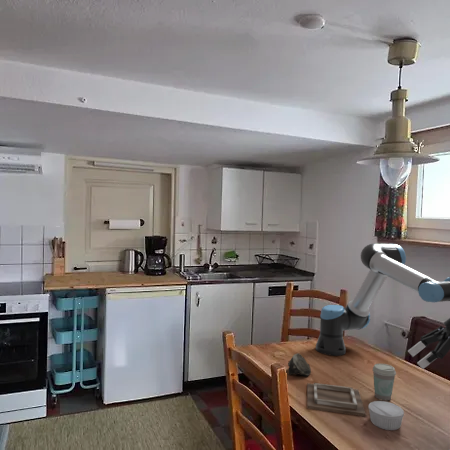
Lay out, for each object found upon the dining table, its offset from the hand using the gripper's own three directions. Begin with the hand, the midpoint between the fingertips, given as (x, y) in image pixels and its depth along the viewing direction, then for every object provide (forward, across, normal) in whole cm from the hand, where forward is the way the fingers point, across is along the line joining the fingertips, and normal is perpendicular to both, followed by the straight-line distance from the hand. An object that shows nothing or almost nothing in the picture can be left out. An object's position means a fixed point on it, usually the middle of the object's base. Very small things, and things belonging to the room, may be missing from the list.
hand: (414, 359), depth 152 cm
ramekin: (+22, -21, -2) cm, 30 cm away
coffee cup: (+19, 0, -4) cm, 20 cm away
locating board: (+32, -8, +10) cm, 35 cm away
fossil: (+42, +14, +19) cm, 49 cm away
